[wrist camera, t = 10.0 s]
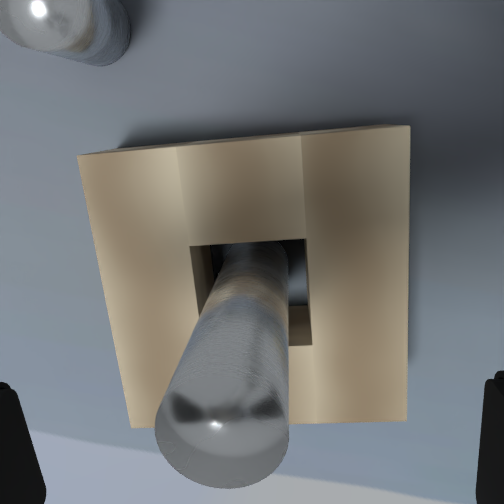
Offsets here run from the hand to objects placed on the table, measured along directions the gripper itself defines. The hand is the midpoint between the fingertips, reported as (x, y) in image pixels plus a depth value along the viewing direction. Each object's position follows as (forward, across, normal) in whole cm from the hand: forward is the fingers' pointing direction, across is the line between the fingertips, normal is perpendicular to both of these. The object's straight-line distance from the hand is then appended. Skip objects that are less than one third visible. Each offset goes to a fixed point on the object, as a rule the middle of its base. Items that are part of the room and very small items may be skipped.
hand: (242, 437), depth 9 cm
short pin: (+13, +7, -10) cm, 18 cm away
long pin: (+13, +1, +1) cm, 13 cm away
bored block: (+13, +1, +1) cm, 13 cm away
